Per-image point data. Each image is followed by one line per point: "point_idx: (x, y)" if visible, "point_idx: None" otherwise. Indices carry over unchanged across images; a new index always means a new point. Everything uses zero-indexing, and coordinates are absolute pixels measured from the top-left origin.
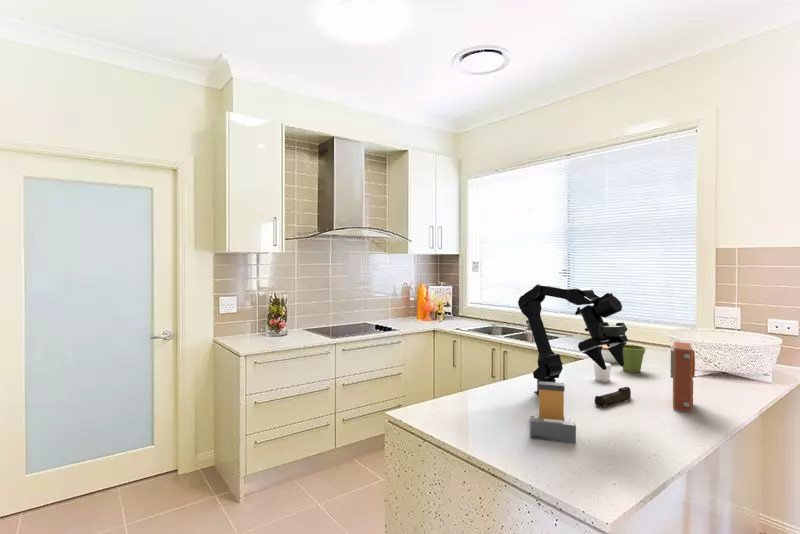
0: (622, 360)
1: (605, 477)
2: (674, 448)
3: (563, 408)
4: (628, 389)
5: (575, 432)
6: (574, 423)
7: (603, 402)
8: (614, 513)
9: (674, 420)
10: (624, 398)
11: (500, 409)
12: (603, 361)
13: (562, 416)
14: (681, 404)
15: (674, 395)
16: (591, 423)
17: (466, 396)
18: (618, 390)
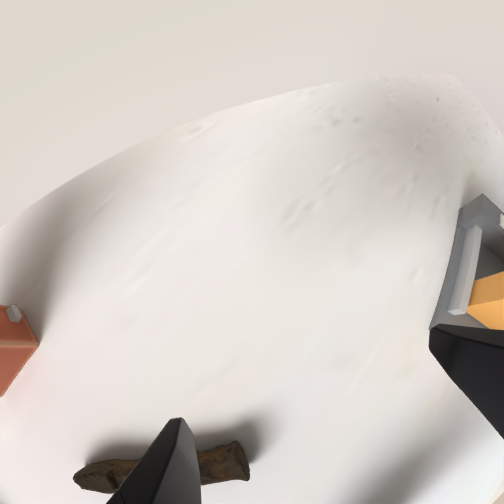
0: (169, 447)
1: (443, 111)
2: (268, 129)
3: (496, 274)
4: (84, 473)
5: (473, 200)
6: (483, 205)
7: (238, 446)
8: (448, 76)
9: (98, 275)
10: (116, 462)
11: None
12: (487, 336)
13: (482, 280)
14: (18, 326)
15: (10, 341)
16: (379, 315)
17: (498, 488)
18: (117, 489)
